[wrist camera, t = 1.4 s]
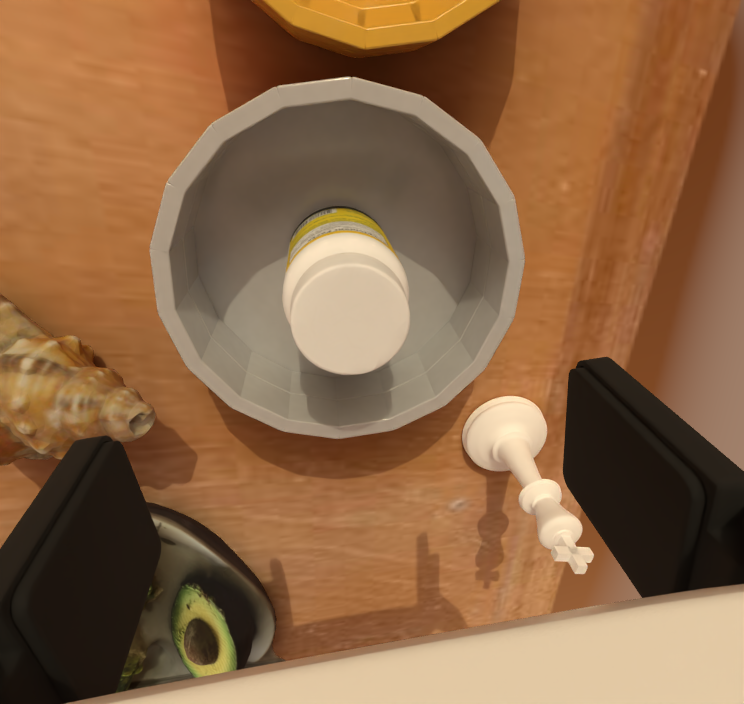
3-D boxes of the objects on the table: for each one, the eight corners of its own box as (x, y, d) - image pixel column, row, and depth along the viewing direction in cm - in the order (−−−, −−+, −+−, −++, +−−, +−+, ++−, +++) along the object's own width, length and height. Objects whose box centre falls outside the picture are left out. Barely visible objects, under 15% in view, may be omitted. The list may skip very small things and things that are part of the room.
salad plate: (104, 733, 39) (80, 808, 35) (-109, 606, 32) (-172, 682, 28) (320, 625, 36) (320, 693, 32) (141, 457, 29) (113, 517, 25)
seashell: (78, 236, 26) (125, 324, 20) (125, 364, 31) (177, 470, 24) (-156, 289, 22) (-198, 422, 15) (-60, 427, 27) (-60, 575, 20)
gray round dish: (137, 106, 21) (90, 109, 17) (485, 61, 22) (529, 52, 17) (222, 402, 28) (205, 460, 23) (490, 361, 28) (523, 411, 24)
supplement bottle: (372, 312, 26) (395, 400, 18) (278, 289, 25) (263, 371, 17) (402, 218, 24) (442, 274, 17) (301, 189, 23) (296, 234, 16)
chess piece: (473, 391, 29) (545, 521, 20) (555, 399, 30) (658, 529, 21) (453, 461, 31) (509, 609, 22) (529, 468, 32) (613, 612, 23)
